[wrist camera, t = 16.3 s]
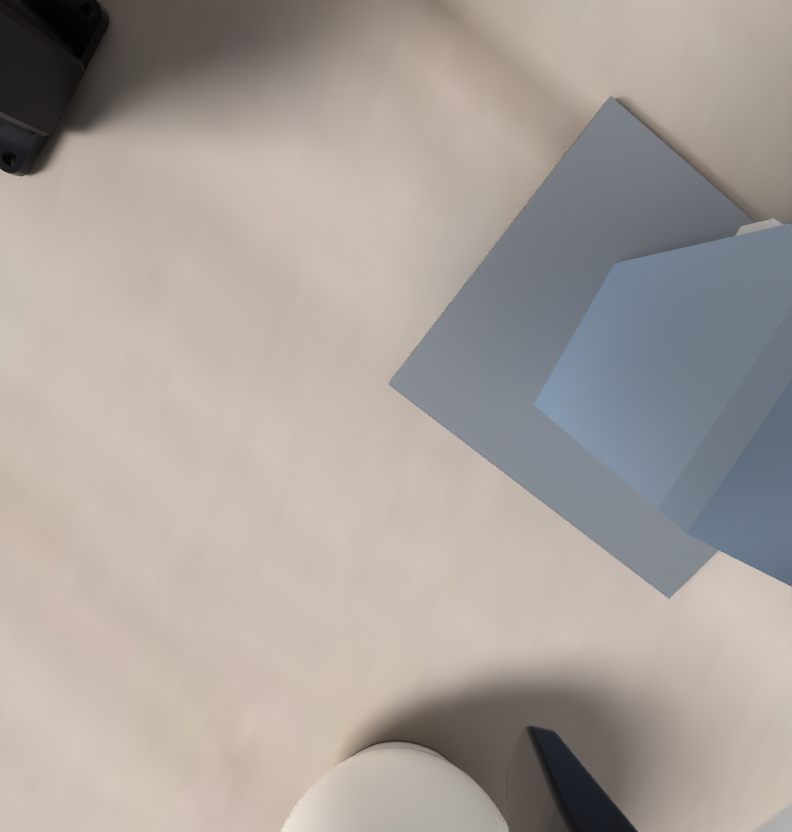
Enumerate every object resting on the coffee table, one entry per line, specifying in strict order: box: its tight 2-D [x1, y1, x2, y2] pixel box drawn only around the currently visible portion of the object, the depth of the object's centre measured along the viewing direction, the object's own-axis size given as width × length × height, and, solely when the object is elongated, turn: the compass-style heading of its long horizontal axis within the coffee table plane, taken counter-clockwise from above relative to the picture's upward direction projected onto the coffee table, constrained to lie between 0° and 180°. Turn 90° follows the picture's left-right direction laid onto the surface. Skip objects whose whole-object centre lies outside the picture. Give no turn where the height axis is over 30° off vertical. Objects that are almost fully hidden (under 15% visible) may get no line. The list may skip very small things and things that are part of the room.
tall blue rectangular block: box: [534, 218, 792, 586], centre depth 13 cm, size 8×6×11 cm
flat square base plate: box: [389, 96, 756, 598], centre depth 17 cm, size 14×12×4 cm
